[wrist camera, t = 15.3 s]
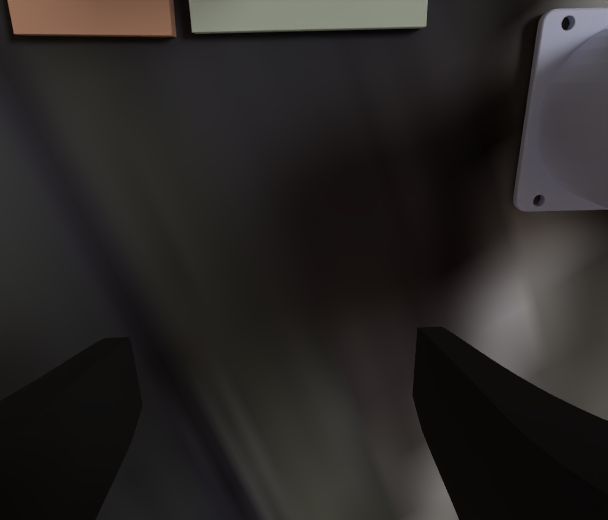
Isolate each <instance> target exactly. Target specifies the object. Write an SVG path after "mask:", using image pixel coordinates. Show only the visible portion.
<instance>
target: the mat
mask: <svg viewBox="0 0 608 520" xmlns="http://www.w3.org/2000/svg"><path fill="white" fill-rule="evenodd" d="M427 4H428V0H189V6H190V16H191V26H192V32H193V33H195V34H209V33H250V32H290V31H331V30H372V29H412V28H424V27H426V19H427Z"/></svg>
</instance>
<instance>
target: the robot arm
mask: <svg viewBox="0 0 608 520" xmlns="http://www.w3.org/2000/svg"><path fill="white" fill-rule="evenodd" d="M565 17H567V18H568V19H569V27H568V28H567V29H566V30H563V28H562V25H561V23H562V20H563V19H564V18H565ZM537 195H540V197H541V199H540V201H539V202H538V203H537V204H533V200H534V198H535V197H536V196H537ZM513 204H514V206H515V207H516V208H517V209H519V210H520V211H524V212H534V211H571V210H608V8H571V9H554V10H550V11H547V12H546V13H545V14H543V15H542V17H541V18H540V20H539V23H538V28H537V35H536V42H535V49H534V56H533V63H532V70H531V77H530V84H529V91H528V98H527V105H526V112H525V119H524V126H523V133H522V140H521V147H520V154H519V161H518V167H517V174H516V181H515V188H514V195H513ZM413 399H414V403H415V407H416V411H417V415H418V418H419V422H420V425H421V429H422V432H423V434H424V437H425V439H426V442H427V444H428V446H429V449H430V451H431V454H432V456H433V459H434V461H435V463H436V466H437V468H438V470H439V473H440V475H441V477H442V480H443V482H444V485H445V487H446V489H447V492H448V494H449V496H450V499H451V501H452V503H453V506H454V508H455V511H456V513H457V515H458V518H459V520H608V421H607V420H604V419H602V418H600V417H597V416H595V415H593V414H590V413H588V412H586V411H584V410H582V409H580V408H578V407H576V406H573V405H571V404H569V403H567V402H565V401H563V400H561V399H559V398H557V397H555V396H553V395H551V394H549V393H547V392H545V391H544V390H542V389H540V388H538V387H536V386H535V385H533V384H531V383H529V382H528V381H526V380H524V379H523V378H521V377H519V376H517V375H516V374H514V373H512V372H511V371H509V370H508V369H506V368H504V367H503V366H501V365H500V364H498V363H496V362H495V361H493V360H492V359H490V358H489V357H487V356H486V355H484V354H483V353H481V352H480V351H478V350H477V349H475V348H474V347H472V346H471V345H469V344H468V343H466V342H465V341H463V340H462V339H461V338H459V337H458V336H456V335H455V334H453V333H451V332H450V331H448V330H447V329H445V328H443V327H421V328H417V341H416V355H415V369H414V382H413ZM141 408H142V401H141V395H140V390H139V384H138V379H137V373H136V368H135V362H134V357H133V351H132V346H131V340H130V337H124V338H105V339H103V340H101V341H99V342H97V343H95V344H93V345H92V346H90V347H88V348H87V349H85V350H83V351H82V352H80V353H78V354H77V355H75V356H74V357H72V358H71V359H69V360H67V361H66V362H64V363H63V364H61V365H59V366H58V367H56V368H55V369H53V370H51V371H50V372H48V373H47V374H45V375H43V376H42V377H40V378H39V379H37V380H35V381H34V382H32V383H30V384H29V385H27V386H25V387H23V388H22V389H20V390H18V391H17V392H15V393H13V394H11V395H10V396H8V397H6V398H5V399H3V400H1V401H0V520H95V519H96V517H97V515H98V513H99V511H100V509H101V506H102V504H103V502H104V500H105V498H106V496H107V494H108V491H109V489H110V487H111V485H112V483H113V481H114V479H115V476H116V474H117V472H118V470H119V468H120V466H121V463H122V461H123V459H124V457H125V455H126V452H127V450H128V448H129V446H130V443H131V441H132V438H133V435H134V432H135V429H136V425H137V422H138V418H139V415H140V411H141Z"/></svg>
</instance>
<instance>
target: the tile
mask: <svg viewBox="0 0 608 520" xmlns="http://www.w3.org/2000/svg"><path fill="white" fill-rule="evenodd" d="M8 5H9V11H10V16H11V21H12V26H13V31H14V34H17V35H23V36H100V37H176V27H175V15H174V3H173V0H8Z"/></svg>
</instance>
